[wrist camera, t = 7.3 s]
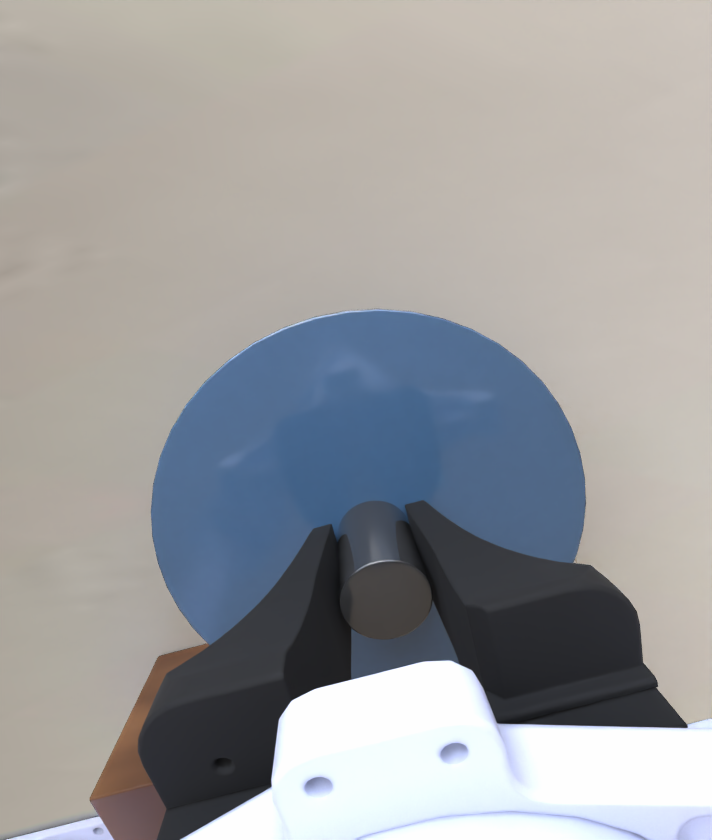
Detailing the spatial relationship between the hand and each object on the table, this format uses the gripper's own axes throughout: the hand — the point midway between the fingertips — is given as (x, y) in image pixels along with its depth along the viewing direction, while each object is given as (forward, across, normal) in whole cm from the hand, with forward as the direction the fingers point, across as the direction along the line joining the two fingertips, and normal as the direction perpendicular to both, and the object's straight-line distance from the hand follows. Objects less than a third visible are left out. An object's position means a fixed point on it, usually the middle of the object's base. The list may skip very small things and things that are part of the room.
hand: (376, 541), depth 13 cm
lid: (+1, 0, 0) cm, 1 cm away
